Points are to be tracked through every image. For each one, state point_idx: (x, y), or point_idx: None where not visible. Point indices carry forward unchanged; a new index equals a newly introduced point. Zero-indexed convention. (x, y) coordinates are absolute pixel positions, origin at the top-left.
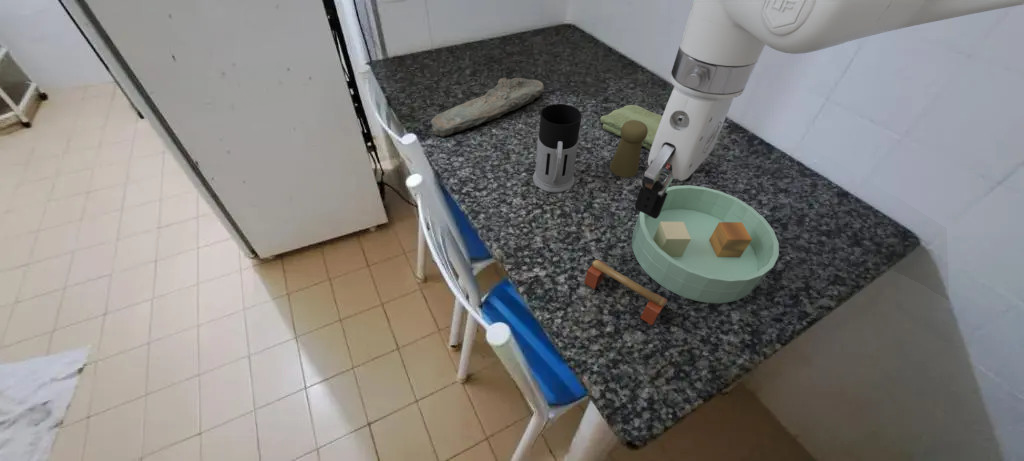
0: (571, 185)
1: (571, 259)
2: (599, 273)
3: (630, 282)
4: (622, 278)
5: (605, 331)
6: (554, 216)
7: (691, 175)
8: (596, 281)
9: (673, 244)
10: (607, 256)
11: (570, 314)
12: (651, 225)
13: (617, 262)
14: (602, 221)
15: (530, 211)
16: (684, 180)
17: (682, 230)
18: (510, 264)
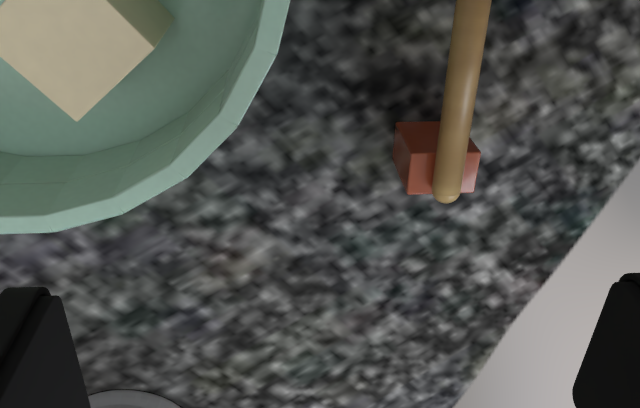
0: (112, 395)
1: (387, 233)
2: (466, 156)
3: (476, 52)
4: (473, 86)
5: (593, 6)
6: (266, 353)
7: (11, 339)
8: (471, 140)
9: (127, 3)
10: (299, 161)
11: (582, 125)
12: (44, 121)
13: (300, 123)
14: (168, 252)
15: (298, 401)
16: (62, 316)
17: (36, 11)
18: (503, 329)
